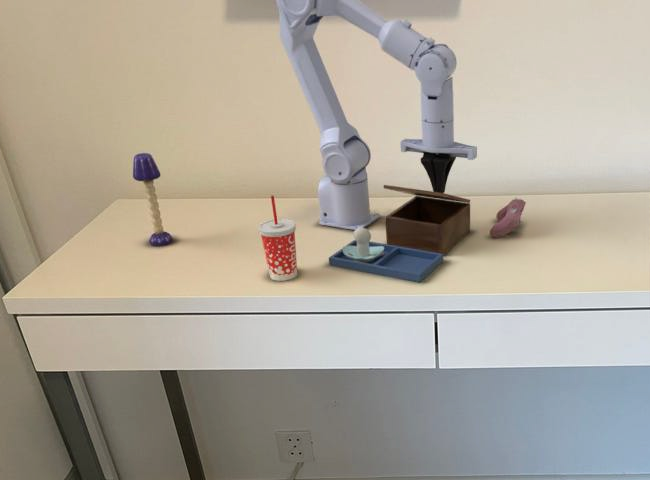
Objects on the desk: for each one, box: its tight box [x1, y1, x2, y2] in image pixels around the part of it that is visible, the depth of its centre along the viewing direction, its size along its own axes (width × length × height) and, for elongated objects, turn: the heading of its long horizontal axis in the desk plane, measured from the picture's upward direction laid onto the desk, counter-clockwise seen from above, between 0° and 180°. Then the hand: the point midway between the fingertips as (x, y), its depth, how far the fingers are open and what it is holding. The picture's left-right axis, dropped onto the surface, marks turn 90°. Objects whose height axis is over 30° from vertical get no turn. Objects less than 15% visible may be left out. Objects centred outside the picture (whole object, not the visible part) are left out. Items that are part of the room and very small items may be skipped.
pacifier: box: [341, 227, 384, 263], centre depth 132 cm, size 7×6×6 cm
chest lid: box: [383, 184, 471, 204], centre depth 137 cm, size 13×11×1 cm
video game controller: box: [489, 197, 527, 238], centre depth 143 cm, size 10×5×7 cm, turn 168°
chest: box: [384, 195, 471, 256], centre depth 140 cm, size 12×11×6 cm
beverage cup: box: [257, 195, 298, 282], centre depth 125 cm, size 6×6×14 cm
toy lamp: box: [132, 152, 174, 247], centre depth 138 cm, size 5×5×17 cm
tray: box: [328, 239, 444, 283], centre depth 132 cm, size 9×18×2 cm, turn 65°
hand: (439, 193), depth 141 cm, fingers closed
